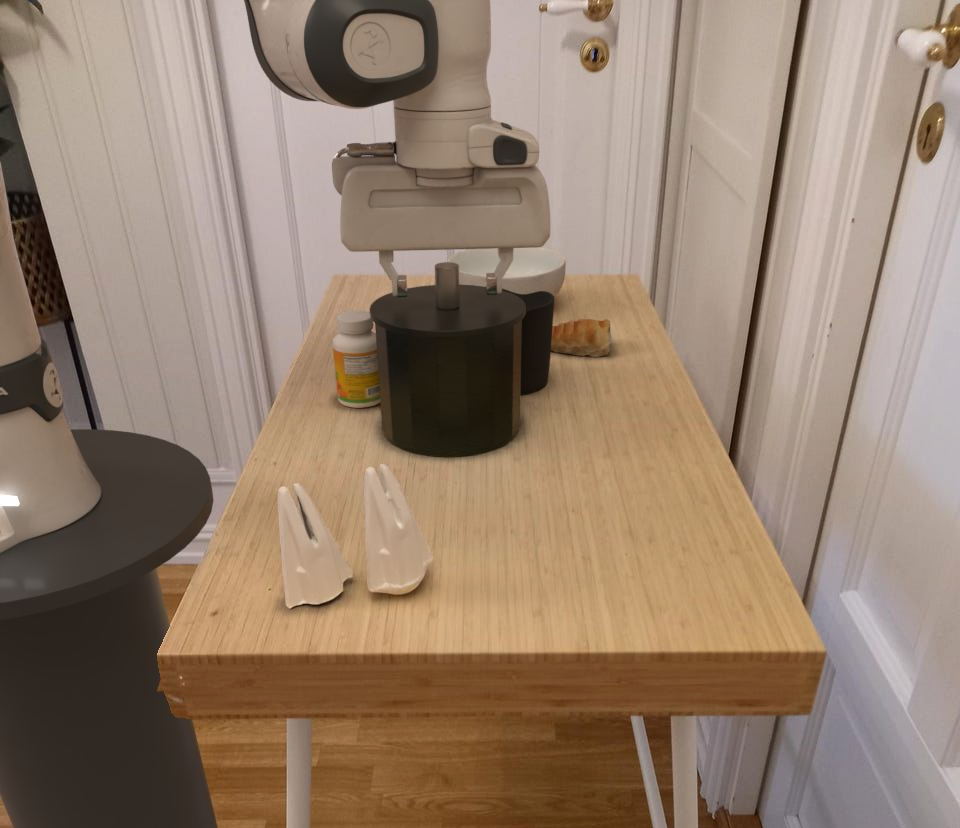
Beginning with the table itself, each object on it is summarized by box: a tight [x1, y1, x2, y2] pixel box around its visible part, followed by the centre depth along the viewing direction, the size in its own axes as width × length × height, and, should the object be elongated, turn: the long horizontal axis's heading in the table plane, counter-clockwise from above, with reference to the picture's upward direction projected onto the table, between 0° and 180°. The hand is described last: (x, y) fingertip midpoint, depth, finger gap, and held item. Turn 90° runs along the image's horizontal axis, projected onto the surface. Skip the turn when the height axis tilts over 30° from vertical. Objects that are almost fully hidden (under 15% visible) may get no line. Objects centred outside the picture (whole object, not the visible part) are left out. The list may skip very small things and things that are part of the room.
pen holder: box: [502, 289, 555, 395], centre depth 113 cm, size 9×9×10 cm
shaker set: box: [277, 463, 435, 609], centre depth 75 cm, size 12×4×11 cm, turn 95°
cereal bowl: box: [447, 246, 566, 298], centre depth 138 cm, size 17×17×7 cm
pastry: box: [551, 318, 613, 358], centre depth 125 cm, size 9×7×4 cm
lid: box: [369, 261, 526, 337], centre depth 97 cm, size 16×16×5 cm
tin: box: [374, 320, 522, 458], centre depth 102 cm, size 15×15×12 cm
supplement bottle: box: [332, 310, 381, 409], centre depth 109 cm, size 5×5×10 cm
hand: (447, 294), depth 97 cm, fingers open, 8 cm apart
